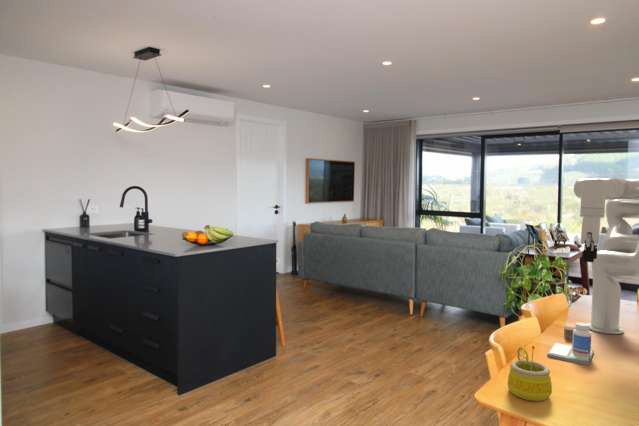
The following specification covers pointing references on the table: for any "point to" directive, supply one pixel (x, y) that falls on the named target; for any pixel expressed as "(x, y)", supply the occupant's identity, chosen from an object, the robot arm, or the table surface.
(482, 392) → the table surface
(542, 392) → the yellow-green planter pot
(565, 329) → the walnut block
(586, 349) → the pill bottle
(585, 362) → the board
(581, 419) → the table surface
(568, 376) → the table surface
